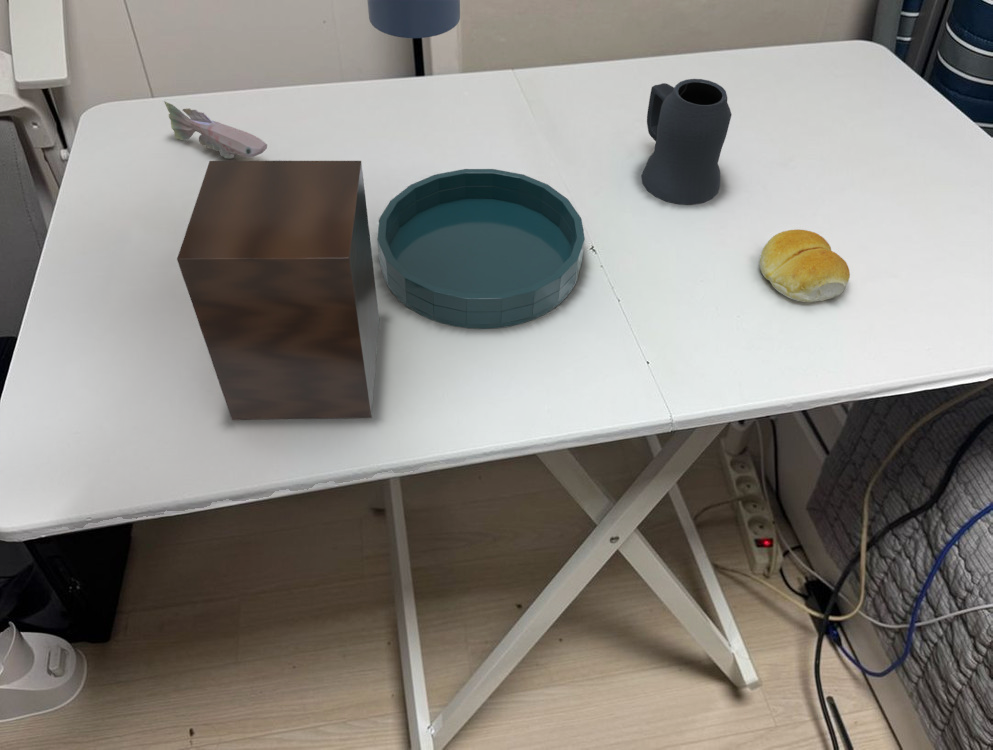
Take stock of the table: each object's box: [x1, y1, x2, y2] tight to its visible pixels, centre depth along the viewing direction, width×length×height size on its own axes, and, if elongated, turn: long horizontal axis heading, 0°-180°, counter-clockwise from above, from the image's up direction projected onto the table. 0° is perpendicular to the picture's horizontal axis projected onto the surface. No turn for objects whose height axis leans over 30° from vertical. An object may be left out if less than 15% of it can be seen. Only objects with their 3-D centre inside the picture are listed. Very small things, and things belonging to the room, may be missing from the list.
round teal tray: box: [376, 168, 586, 330], centre depth 85 cm, size 21×21×4 cm
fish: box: [163, 100, 268, 160], centre depth 96 cm, size 3×14×5 cm, turn 63°
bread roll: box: [758, 229, 851, 303], centre depth 84 cm, size 8×9×4 cm
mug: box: [640, 78, 733, 206], centre depth 93 cm, size 12×9×11 cm
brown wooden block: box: [176, 160, 380, 421], centre depth 69 cm, size 12×12×18 cm
